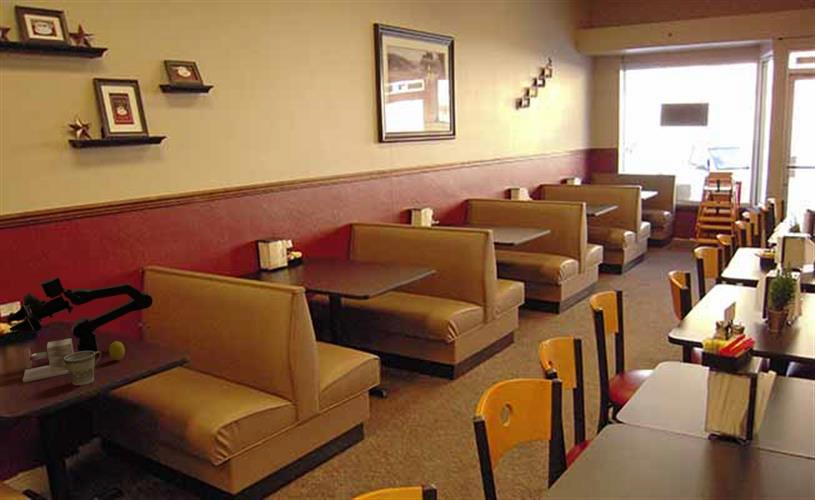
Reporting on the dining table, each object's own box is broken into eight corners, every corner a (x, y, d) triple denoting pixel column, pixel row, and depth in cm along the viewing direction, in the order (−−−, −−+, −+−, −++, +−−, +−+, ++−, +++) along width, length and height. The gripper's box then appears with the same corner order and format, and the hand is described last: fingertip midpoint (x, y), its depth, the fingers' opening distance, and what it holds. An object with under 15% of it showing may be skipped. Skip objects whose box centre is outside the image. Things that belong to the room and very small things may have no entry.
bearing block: (75, 361, 252) (71, 338, 250) (75, 367, 245) (71, 343, 243) (51, 366, 249) (47, 342, 247) (51, 372, 242) (46, 348, 240)
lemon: (129, 358, 255) (126, 339, 253) (117, 363, 250) (114, 343, 248) (119, 357, 257) (116, 338, 255) (107, 362, 252) (104, 342, 251)
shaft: (56, 358, 248) (53, 343, 247) (55, 362, 243) (53, 347, 242) (27, 363, 244) (25, 348, 243) (26, 368, 239) (23, 352, 238)
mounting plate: (78, 362, 254) (78, 359, 254) (78, 371, 244) (78, 368, 244) (25, 372, 247) (25, 369, 247) (23, 382, 236) (22, 379, 236)
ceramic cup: (78, 389, 226) (74, 362, 224) (62, 385, 231) (57, 358, 229) (112, 376, 236) (108, 350, 234) (96, 372, 242) (91, 346, 240)
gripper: (39, 281, 258) (-4, 298, 251) (46, 298, 244) (1, 316, 237) (51, 305, 263) (9, 322, 257) (58, 323, 249) (14, 341, 242)
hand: (8, 325), depth 248 cm, fingers open, 9 cm apart
